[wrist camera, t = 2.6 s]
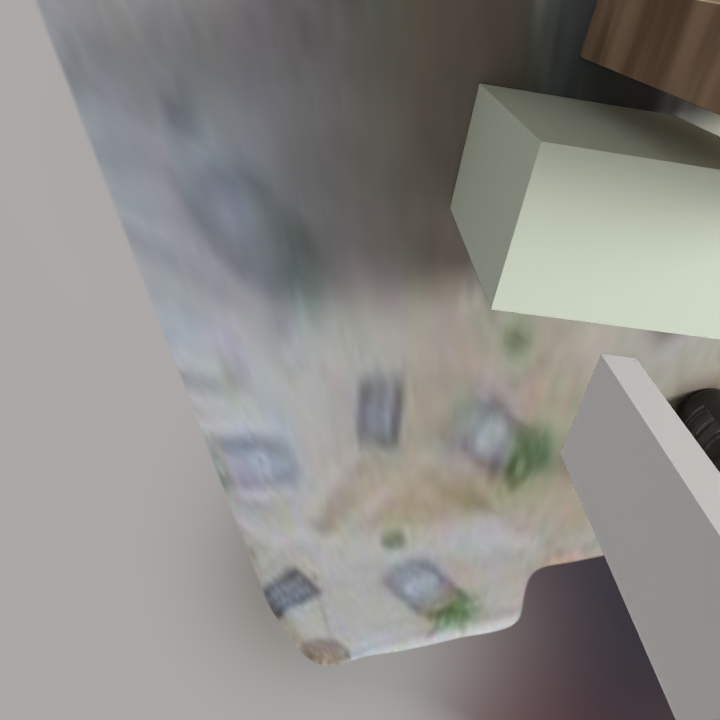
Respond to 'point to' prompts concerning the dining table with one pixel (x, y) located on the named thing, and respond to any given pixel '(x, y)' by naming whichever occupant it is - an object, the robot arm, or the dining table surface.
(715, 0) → the oak rail
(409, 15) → the dining table surface
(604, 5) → the walnut stand
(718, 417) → the supplement bottle
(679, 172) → the sage plinth
